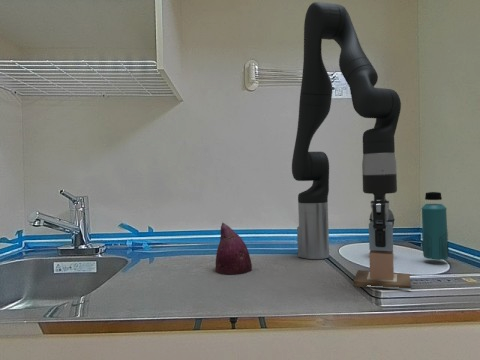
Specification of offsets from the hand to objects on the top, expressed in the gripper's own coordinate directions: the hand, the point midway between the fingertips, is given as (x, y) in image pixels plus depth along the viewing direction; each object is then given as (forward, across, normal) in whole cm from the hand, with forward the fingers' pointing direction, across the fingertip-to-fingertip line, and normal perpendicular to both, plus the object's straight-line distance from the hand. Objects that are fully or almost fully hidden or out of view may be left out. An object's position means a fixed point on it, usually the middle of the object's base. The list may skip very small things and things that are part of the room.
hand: (381, 244), depth 85 cm
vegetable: (+9, 0, +39) cm, 40 cm away
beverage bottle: (+9, +24, -13) cm, 29 cm away
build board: (+9, 0, 0) cm, 9 cm away
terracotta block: (+8, 0, 0) cm, 8 cm away
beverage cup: (+9, +27, +1) cm, 29 cm away
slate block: (+1, 0, 0) cm, 1 cm away
